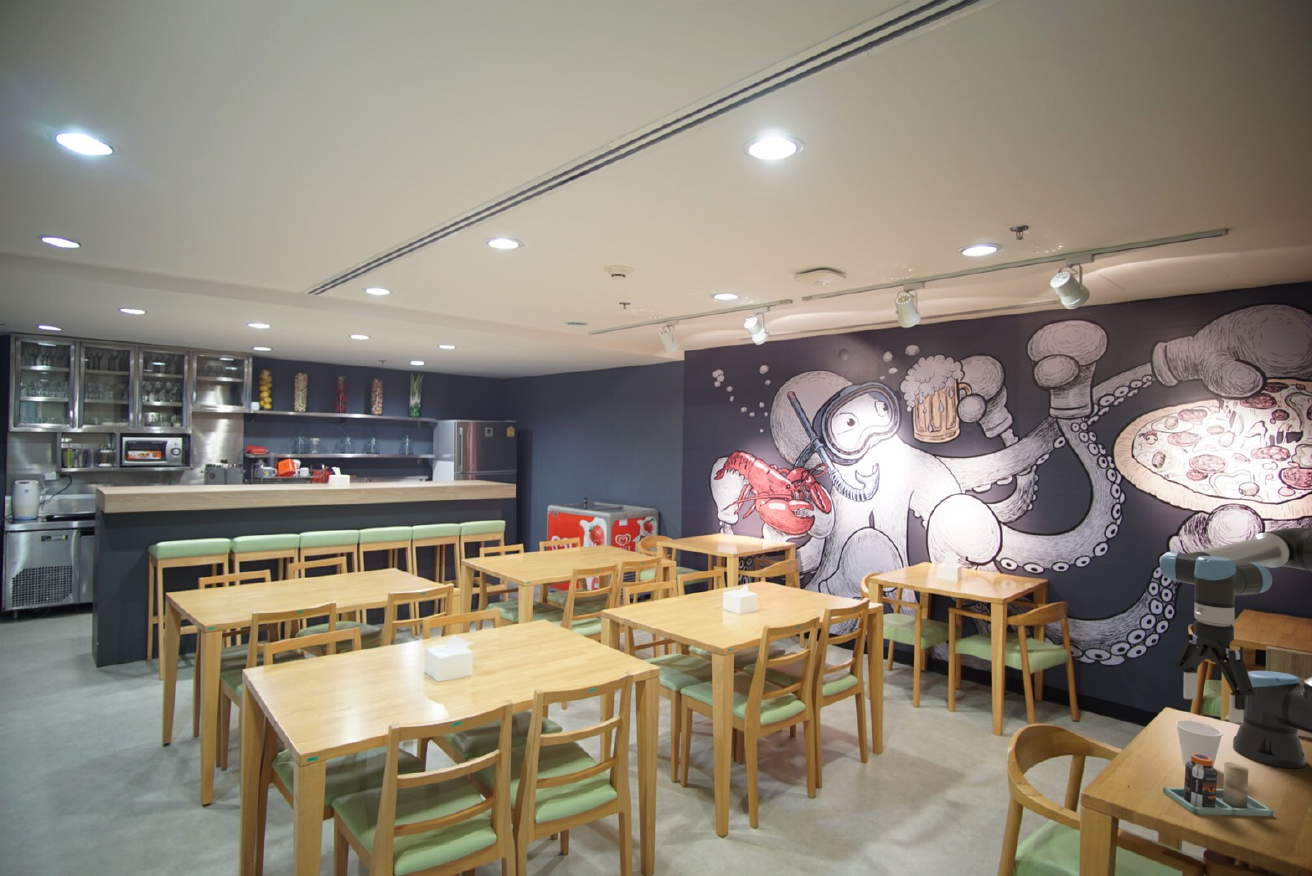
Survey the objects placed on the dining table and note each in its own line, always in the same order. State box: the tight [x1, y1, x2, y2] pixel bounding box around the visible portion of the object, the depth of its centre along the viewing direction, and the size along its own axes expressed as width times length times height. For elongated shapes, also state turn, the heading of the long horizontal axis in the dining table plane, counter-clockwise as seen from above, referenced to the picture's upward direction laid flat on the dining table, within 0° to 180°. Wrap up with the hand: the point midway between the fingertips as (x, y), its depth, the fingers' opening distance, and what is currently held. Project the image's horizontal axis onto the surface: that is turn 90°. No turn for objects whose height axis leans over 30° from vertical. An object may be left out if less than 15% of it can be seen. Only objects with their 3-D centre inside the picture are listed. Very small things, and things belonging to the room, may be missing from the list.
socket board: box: [1162, 786, 1274, 817], centre depth 164 cm, size 18×10×2 cm, turn 90°
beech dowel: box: [1222, 761, 1249, 808], centre depth 164 cm, size 4×4×9 cm
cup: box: [1175, 719, 1224, 768], centre depth 183 cm, size 10×10×11 cm
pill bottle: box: [1183, 753, 1218, 808], centre depth 163 cm, size 6×6×11 cm
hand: (1212, 709), depth 165 cm, fingers open, 13 cm apart
